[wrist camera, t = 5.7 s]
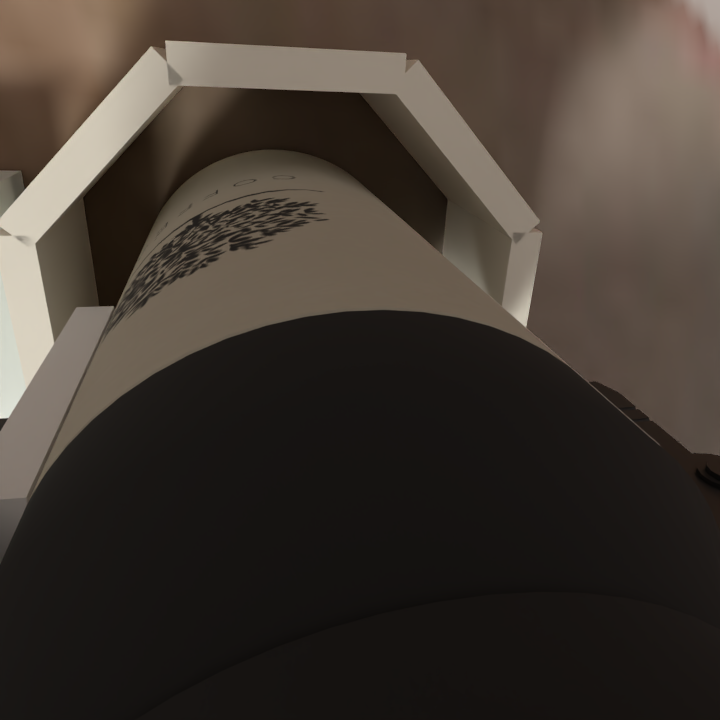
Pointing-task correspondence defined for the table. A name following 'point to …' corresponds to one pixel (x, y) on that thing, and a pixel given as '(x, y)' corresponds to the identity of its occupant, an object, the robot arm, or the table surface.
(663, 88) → the table surface
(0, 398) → the tray
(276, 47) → the holder
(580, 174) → the table surface
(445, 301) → the travel mug
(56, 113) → the table surface
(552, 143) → the table surface
